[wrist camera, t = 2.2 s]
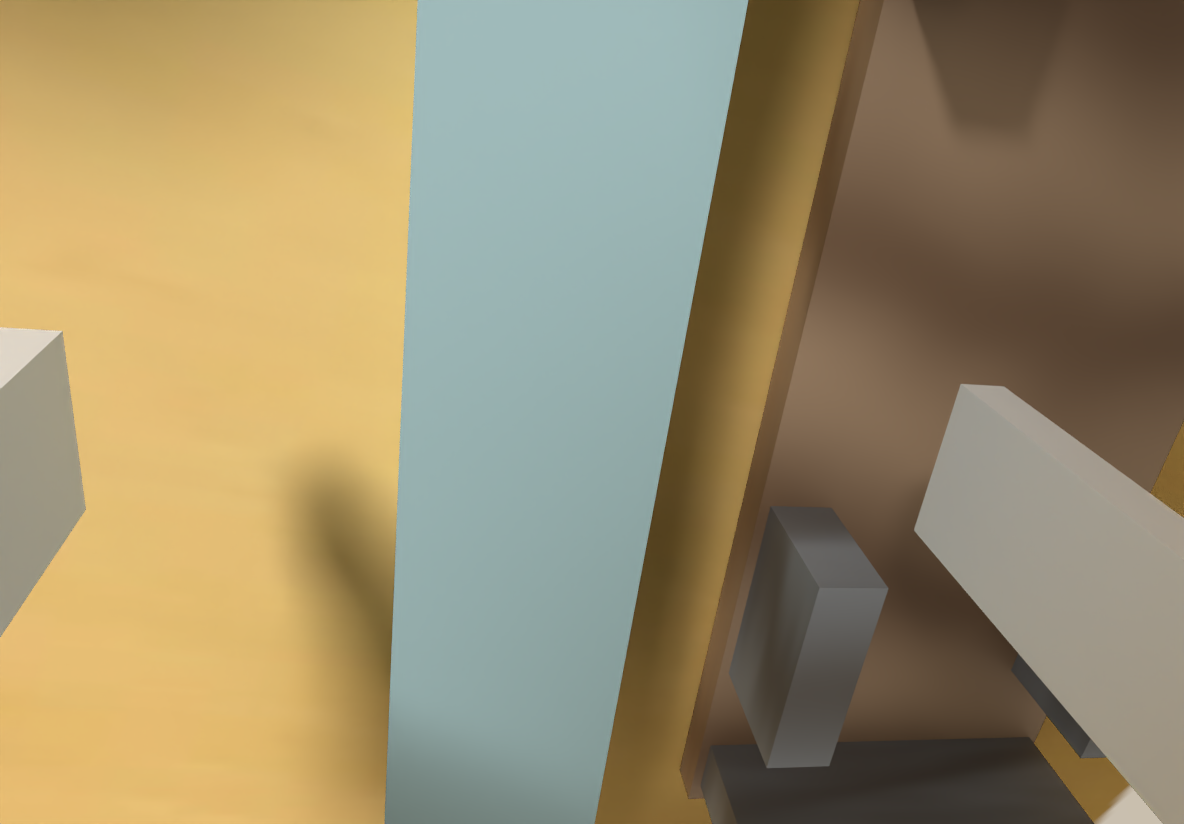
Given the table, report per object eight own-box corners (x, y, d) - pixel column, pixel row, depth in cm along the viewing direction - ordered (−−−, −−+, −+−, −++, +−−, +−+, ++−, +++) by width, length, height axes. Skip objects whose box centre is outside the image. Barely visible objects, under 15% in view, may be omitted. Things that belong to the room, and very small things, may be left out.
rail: (442, -438, 13) (445, -691, 8) (700, -380, 14) (855, -575, 9) (394, 685, 23) (381, 904, 18) (549, 683, 24) (581, 894, 18)
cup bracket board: (1044, -786, 12) (1281, -1075, 9) (1598, -599, 14) (1976, -778, 11) (679, 769, 26) (718, 901, 22) (995, 759, 27) (1077, 878, 24)
